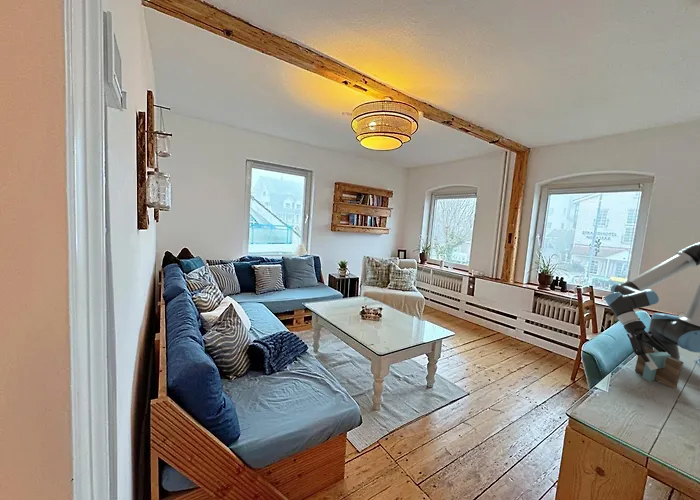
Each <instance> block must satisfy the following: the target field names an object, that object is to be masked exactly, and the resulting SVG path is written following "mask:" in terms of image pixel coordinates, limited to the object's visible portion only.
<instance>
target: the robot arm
mask: <svg viewBox="0 0 700 500" xmlns="http://www.w3.org/2000/svg"><path fill="white" fill-rule="evenodd" d="M699 265H700V241H699V242H695V243H693V244H690V245H689V246H686V247H684V248H682V249H679V250H678V251H676V252H675V255H674V256H672V257H669V258H668V259H666V260H665V261H663V262H660V263H659V264H657V265H655V266H653V267H651V268H649V269H648V270H646V271H645V272H642V273H640V274H639V275H636V276H635V277H633V278H631V279H630V280H627V281H625V282H623V283H621V282H620V283H614V284H613V285H612V286H611V288H610V292H611V293H609V294H607V295H605V297H604V300H605V303H606V304H607V306H608V307H609V309H610V310H611V311H612V312H613V314H614V315H615V317H616V318H617V319H618V322H620V324H621V325H622V326H623V329H625V332H626V333H627V334H626V336H627V338H628V339H629V342H630V344H631V347H632V351H633V353H634V354H635V355H636V356H639V355H640V356H641V357H642V358H643V360H644V361H645V363H646V364H647V366H648V367H649V369H650V370H654V369H658V367H657V366H656V365H655V363H654V362H653V360H652V359H651V358H650V356H649V355H648V354H645V347H646V348H648V349H651V350H653V347H654V348H655V349H656V350H658V351H659V352H664V353H667V354H670V355H671V357H672V358H674V359H677V360H679V361H680V359H681V356H680V355H681V354H680V352H679V347H680V348H682V349H683V350H686V351H688V352H692V353H699V354H700V283H699V284H698V286H697V288H696V290H695V293H694V294H693V297H692V299H691V300H690V303H689V305H688V307H687V309H686V311H685V314H683V316H679V315H676V314H671V313H670V314H669V313H661V312H654V313H652V316H651V318H650V323H649V327H648V331H646V328H647V326H646V325H645V323H644V322H643V321H642V320H641V318H640V317H639V316H638V314H637V313H636V311H635V310H636V309H640V308H644V307H648V306H649V307H651V306H653V305H656V304H658V303H659V301H660V300H659V296H658V294H657V292H656V291H655V290H653V289H650V288H652V287H654V286H655V285H656V286H657V284H659V283H661V282H663V281H665V280H667V279H669V278H672V276H673V277H674V276H675V275H677V274H679V273H680V272H683V271H684V270H686V269H688V268H695V267H698V266H699ZM678 346H679V347H678Z"/></svg>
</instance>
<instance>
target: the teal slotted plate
mask: <svg viewBox="0 0 700 500" xmlns="http://www.w3.org/2000/svg"><path fill="white" fill-rule="evenodd" d="M648 355H649V356H650V358H651V359H652V360H653V362H654V363H655V365H656V366H657V367H658V368H664V366H665V362H666V358H667V357H671V355H670V354H667V353H664V352H655V353H648ZM656 370H657V369H654V370H650V369H649V367H648V366H647V364H646V363H645V367H644V371H643V374H642V376H641V378H642V379H644V380H646V381H647V382H654V381H655V380H654V378H655V374H656Z"/></svg>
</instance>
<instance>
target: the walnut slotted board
mask: <svg viewBox="0 0 700 500" xmlns="http://www.w3.org/2000/svg"><path fill="white" fill-rule="evenodd" d="M648 353H655V351H654V350H651V349H648V348H646V347H645V354H648ZM683 364H684V361H682V360H680V359H679V360H677V359H674V358H672V357H667V358H666V362H665V366H664V368H658V369H657V370H656V374H655V378H654V381H657V382H659V383H661V384H664V385H666V386H668V387H670V388H671V389H672V388H673V389H676V388H678V383H679V380H680V375H681V372H682V368H683ZM644 367H645V361H644V360H643V358H642V357H641V356H640V355H639V356H638V357H637V360H636V365H635V368H634V371H635V372H638V373H640V374H642V375H643V371H644Z"/></svg>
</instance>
